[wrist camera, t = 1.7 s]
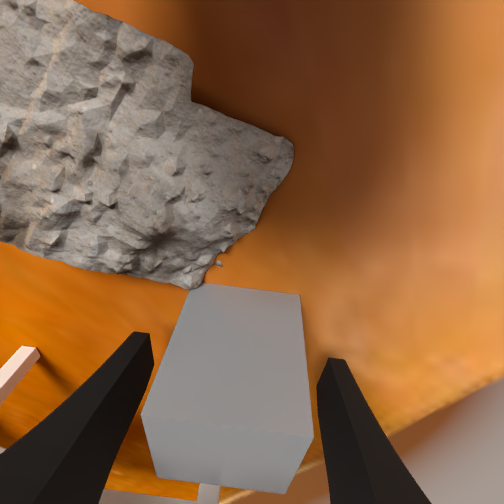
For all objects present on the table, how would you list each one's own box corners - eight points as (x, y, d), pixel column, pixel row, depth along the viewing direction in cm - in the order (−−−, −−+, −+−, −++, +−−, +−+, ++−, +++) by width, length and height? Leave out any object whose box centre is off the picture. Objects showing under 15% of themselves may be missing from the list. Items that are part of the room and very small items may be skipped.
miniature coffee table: (72, 432, 21) (2, 555, 16) (21, 345, 15) (-118, 496, 10) (225, 452, 21) (208, 583, 16) (235, 373, 15) (211, 540, 10)
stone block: (195, 347, 14) (156, 477, 10) (193, 280, 12) (140, 414, 7) (282, 358, 14) (284, 494, 10) (299, 294, 12) (313, 437, 7)
